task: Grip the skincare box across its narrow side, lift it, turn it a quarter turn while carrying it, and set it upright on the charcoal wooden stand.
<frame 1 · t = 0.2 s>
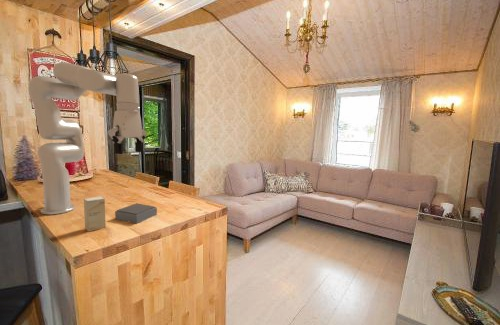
hand: (129, 152, 93), 30 cm above the table, tool pointing down, fingers open, 9 cm apart
stand: (136, 216, 108), on the table
skincare box: (95, 228, 95), on the table
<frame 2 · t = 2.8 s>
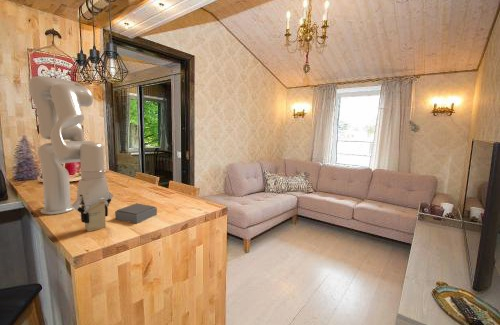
hand: (95, 218, 94), 4 cm above the table, tool pointing down, fingers closed on skincare box, 7 cm apart
skincare box: (95, 228, 95), on the table, touching gripper
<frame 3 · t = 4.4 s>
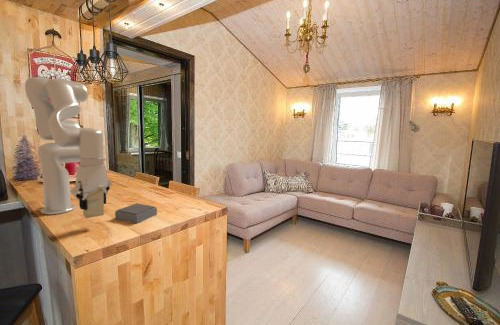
hand: (93, 205, 94), 9 cm above the table, tool pointing down, fingers closed on skincare box, 7 cm apart
skincare box: (93, 215, 95), point 5 cm above the table, touching gripper
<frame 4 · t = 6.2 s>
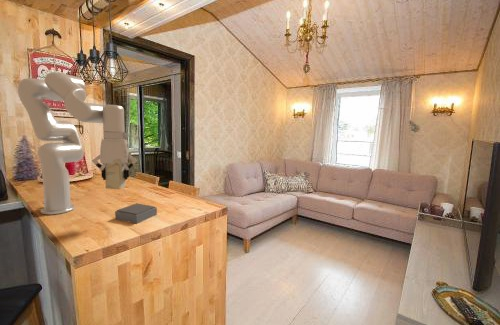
hand: (115, 178, 99), 19 cm above the table, tool pointing down, fingers closed on skincare box, 7 cm apart
skincare box: (116, 188, 99), point 15 cm above the table, touching gripper
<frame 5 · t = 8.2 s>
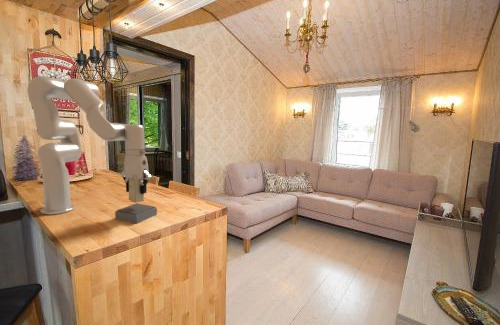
hand: (136, 192, 106), 12 cm above the table, tool pointing down, fingers closed on skincare box, 7 cm apart
skincare box: (136, 200, 107), point 7 cm above the table, touching gripper
when the fingers open (9 cm above the table, at t = 9.7 s): skincare box drops 1 cm, resting on stand.
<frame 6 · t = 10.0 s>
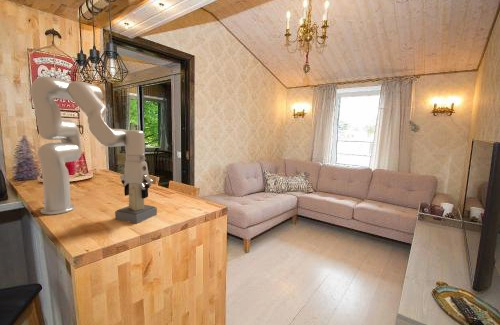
hand: (136, 196, 107), 10 cm above the table, tool pointing down, fingers open, 9 cm apart
skincare box: (136, 208, 107), point 4 cm above the table, touching stand
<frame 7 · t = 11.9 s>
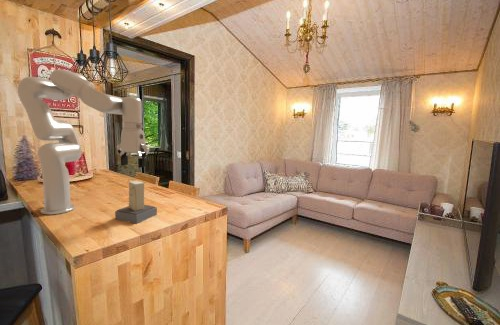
hand: (132, 166, 105), 23 cm above the table, tool pointing down, fingers open, 9 cm apart
nothing on the table moved.
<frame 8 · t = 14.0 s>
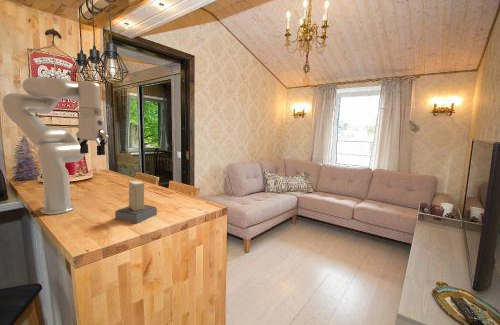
hand: (92, 154, 100), 28 cm above the table, tool pointing down, fingers open, 9 cm apart
nothing on the table moved.
at the end: skincare box inside the target area on the stand (0.2 cm from its centre), point 3.8 cm above the stand's base; skincare box tilted 0°; the gripper is holding nothing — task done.
